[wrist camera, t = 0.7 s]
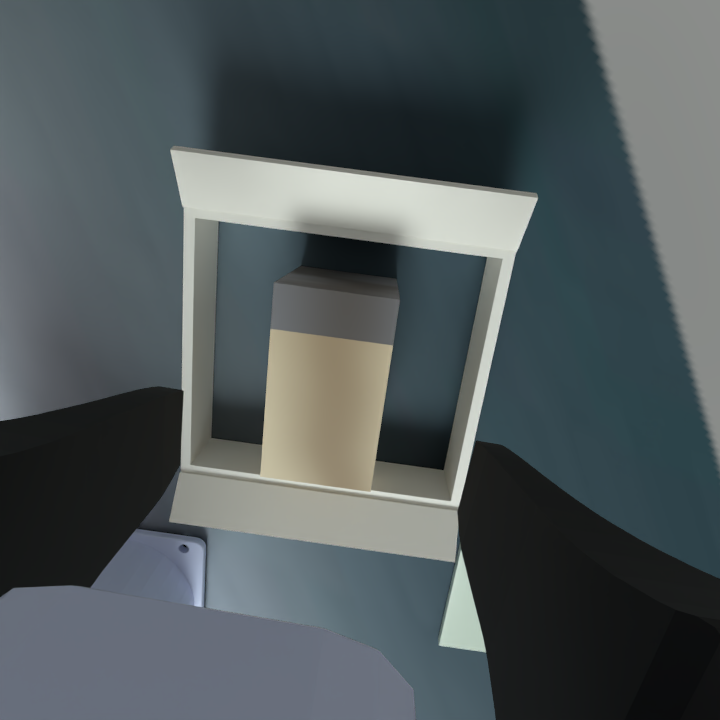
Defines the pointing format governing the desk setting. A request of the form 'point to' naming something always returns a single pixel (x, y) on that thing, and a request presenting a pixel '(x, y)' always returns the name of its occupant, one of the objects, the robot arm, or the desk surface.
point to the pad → (461, 613)
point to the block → (327, 376)
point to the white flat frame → (347, 220)
